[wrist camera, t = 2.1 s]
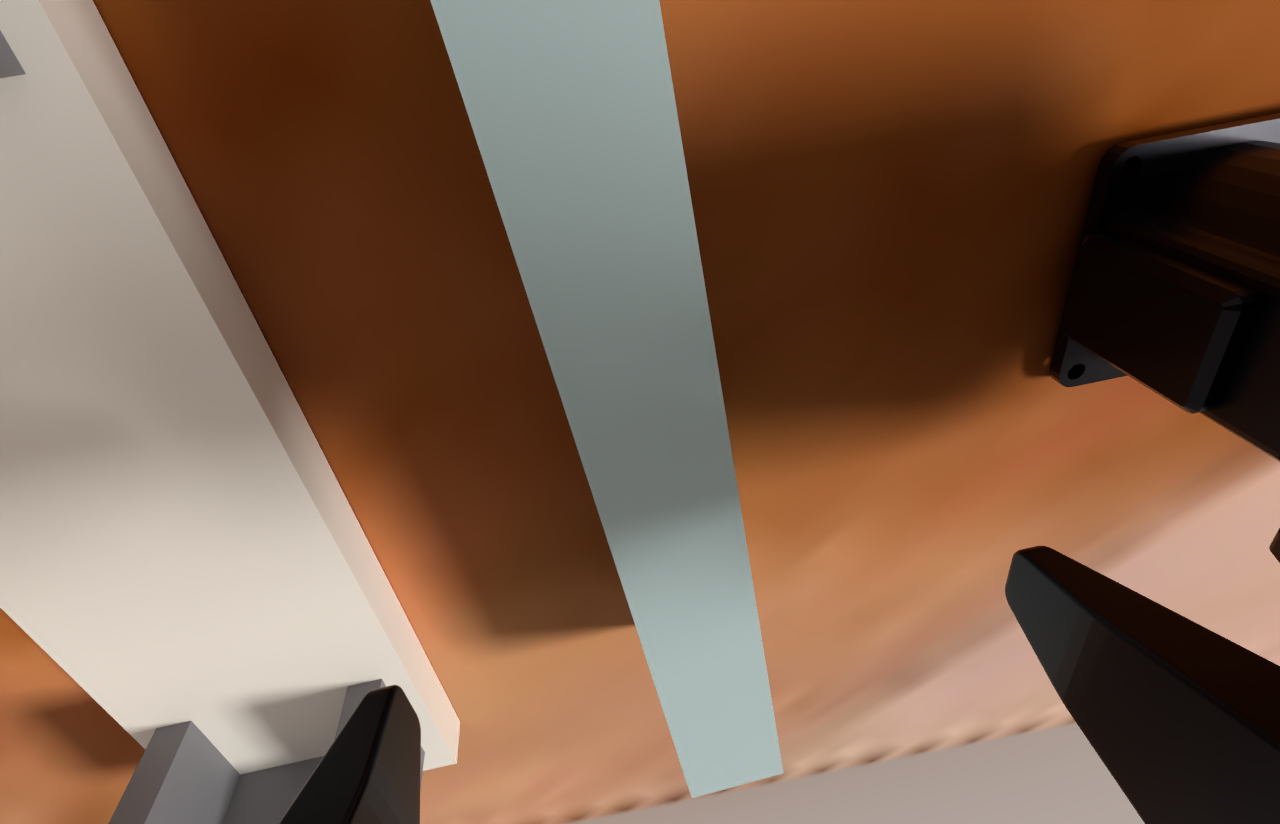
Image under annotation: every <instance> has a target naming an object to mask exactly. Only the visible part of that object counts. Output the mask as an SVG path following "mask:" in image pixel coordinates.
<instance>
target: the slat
mask: <svg viewBox="0 0 1280 824" xmlns="http://www.w3.org/2000/svg"><path fill="white" fill-rule="evenodd" d="M430 1H431V4H432V7H433V10H434V13H435V16H436V19H437V22H438V25H439V28H440V31H441V34H442V37H443V40H444V43H445V46H446V49H447V52H448V55H449V59H450V62H451V65H452V68H453V71H454V74H455V77H456V80H457V83H458V86H459V89H460V92H461V95H462V98H463V101H464V104H465V107H466V110H467V113H468V116H469V120H470V123H471V126H472V129H473V132H474V135H475V138H476V141H477V144H478V147H479V150H480V153H481V156H482V159H483V162H484V165H485V168H486V171H487V174H488V178H489V181H490V184H491V187H492V190H493V193H494V196H495V199H496V202H497V205H498V208H499V211H500V214H501V217H502V220H503V223H504V226H505V229H506V232H507V236H508V239H509V242H510V245H511V248H512V251H513V254H514V257H515V260H516V263H517V266H518V269H519V272H520V275H521V278H522V281H523V284H524V287H525V290H526V293H527V297H528V300H529V303H530V306H531V309H532V312H533V315H534V318H535V321H536V324H537V327H538V330H539V333H540V336H541V339H542V342H543V345H544V348H545V351H546V355H547V358H548V361H549V364H550V367H551V370H552V373H553V376H554V379H555V382H556V385H557V388H558V391H559V394H560V397H561V400H562V403H563V406H564V409H565V412H566V416H567V419H568V422H569V425H570V428H571V431H572V434H573V437H574V440H575V443H576V446H577V449H578V452H579V455H580V458H581V461H582V464H583V467H584V470H585V474H586V477H587V480H588V483H589V486H590V489H591V492H592V495H593V498H594V501H595V504H596V507H597V510H598V513H599V516H600V519H601V522H602V525H603V528H604V532H605V535H606V538H607V541H608V544H609V547H610V550H611V553H612V556H613V559H614V562H615V565H616V568H617V571H618V574H619V577H620V580H621V583H622V586H623V589H624V593H625V596H626V599H627V602H628V605H629V608H630V611H631V614H632V617H633V620H634V623H635V626H636V629H637V632H638V635H639V638H640V641H641V644H642V647H643V651H644V654H645V657H646V660H647V663H648V666H649V669H650V672H651V675H652V678H653V681H654V684H655V687H656V690H657V693H658V696H659V699H660V702H661V705H662V708H663V712H664V715H665V718H666V721H667V724H668V727H669V730H670V733H671V736H672V739H673V742H674V745H675V748H676V751H677V754H678V757H679V760H680V763H681V766H682V770H683V773H684V776H685V779H686V782H687V785H688V788H689V791H690V794H691V797H692V798H694V797H698V796H702V795H705V794H709V793H713V792H716V791H720V790H724V789H728V788H731V787H735V786H739V785H742V784H746V783H750V782H753V781H757V780H761V779H764V778H768V777H772V776H775V775H779V774H783V767H782V761H781V755H780V749H779V743H778V736H777V730H776V724H775V718H774V711H773V705H772V699H771V693H770V687H769V680H768V674H767V668H766V662H765V655H764V649H763V643H762V637H761V631H760V624H759V618H758V612H757V606H756V599H755V593H754V587H753V581H752V575H751V568H750V562H749V556H748V550H747V543H746V537H745V531H744V525H743V519H742V512H741V506H740V500H739V494H738V487H737V481H736V475H735V469H734V463H733V456H732V450H731V444H730V438H729V431H728V425H727V419H726V413H725V407H724V400H723V394H722V388H721V382H720V375H719V369H718V363H717V357H716V351H715V344H714V338H713V332H712V326H711V319H710V313H709V307H708V301H707V295H706V288H705V282H704V276H703V270H702V264H701V257H700V251H699V245H698V239H697V232H696V226H695V220H694V214H693V208H692V201H691V195H690V189H689V183H688V176H687V170H686V164H685V158H684V152H683V145H682V139H681V133H680V127H679V120H678V114H677V108H676V102H675V96H674V89H673V83H672V77H671V71H670V64H669V58H668V52H667V46H666V40H665V33H664V27H663V21H662V15H661V8H660V2H659V0H430Z"/></svg>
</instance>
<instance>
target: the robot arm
mask: <svg viewBox="0 0 1280 824" xmlns="http://www.w3.org/2000/svg"><path fill="white" fill-rule="evenodd" d="M1127 160H1128V164H1127V166H1126V168H1125V169H1124V170H1123V171H1122V172H1121V168H1122V166H1123V164H1124V163H1125V162H1126V161H1127ZM1072 367H1073V368H1072ZM1050 375H1051V377H1052V378H1053V379H1054V380H1056V381H1057V382H1058V383H1060V384H1061V385H1063V386H1065V387H1074V386H1078V385H1083V384H1088V383H1093V382H1098V381H1103V380H1107V379H1112V378H1117V377H1122V376H1127V375H1128V376H1130V377H1131V378H1133V379H1135V380H1136V381H1138V382H1139V383H1141V384H1143V385H1144V386H1146V387H1147V388H1149V389H1151V390H1152V391H1154V392H1155V393H1157V394H1159V395H1160V396H1162V397H1163V398H1165V399H1167V400H1168V401H1170V402H1171V403H1173V404H1175V405H1176V406H1178V407H1179V408H1181V409H1183V410H1184V411H1186V412H1189V413H1192V414H1193V413H1198V412H1199V413H1201V414H1203V415H1204V416H1206V417H1207V418H1209V419H1211V420H1212V421H1214V422H1216V423H1217V424H1219V425H1220V426H1222V427H1224V428H1225V429H1227V430H1229V431H1230V432H1232V433H1234V434H1235V435H1237V436H1238V437H1240V438H1242V439H1243V440H1245V441H1247V442H1248V443H1250V444H1252V445H1253V446H1255V447H1256V448H1258V449H1260V450H1261V451H1263V452H1265V453H1266V454H1268V455H1269V456H1271V457H1273V458H1274V459H1276V460H1278V461H1279V462H1280V113H1276V114H1270V115H1265V116H1259V117H1254V118H1249V119H1243V120H1238V121H1233V122H1227V123H1222V124H1217V125H1211V126H1206V127H1201V128H1195V129H1190V130H1184V131H1179V132H1174V133H1168V134H1163V135H1158V136H1152V137H1147V138H1142V139H1136V140H1131V141H1125V142H1122V143H1119V144H1117V145H1115V146H1114V147H1112V148H1111V149H1110V150H1109V151H1108V152H1107V153H1106V154H1105V155H1104V157H1103V158H1102V160H1101V162H1100V165H1099V167H1098V171H1097V175H1096V179H1095V183H1094V187H1093V191H1092V195H1091V199H1090V204H1089V208H1088V212H1087V216H1086V220H1085V224H1084V228H1083V233H1082V237H1081V241H1080V245H1079V249H1078V253H1077V257H1076V262H1075V266H1074V270H1073V274H1072V278H1071V282H1070V286H1069V291H1068V295H1067V299H1066V303H1065V307H1064V311H1063V315H1062V320H1061V324H1060V328H1059V332H1058V336H1057V340H1056V344H1055V349H1054V353H1053V357H1052V361H1051V365H1050ZM1269 548H1270V551H1271V552H1272V554H1273V555H1274V556H1275V557H1276V559H1277V560H1278V561H1279V562H1280V528H1279V530H1278V532H1277V534H1276V536H1275V537H1274V539H1273V541H1272V543H1271V545H1270V547H1269ZM1005 594H1006V598H1007V601H1008V604H1009V606H1010V608H1011V609H1012V611H1013V613H1014V615H1015V617H1016V619H1017V620H1018V622H1019V624H1020V626H1021V628H1022V630H1023V631H1024V633H1025V635H1026V637H1027V639H1028V641H1029V642H1030V644H1031V646H1032V648H1033V650H1034V652H1035V653H1036V655H1037V657H1038V659H1039V661H1040V663H1041V664H1042V666H1043V668H1044V670H1045V672H1046V674H1047V675H1048V677H1049V679H1050V681H1051V683H1052V685H1053V686H1054V688H1055V690H1056V691H1057V693H1058V695H1059V697H1060V698H1061V700H1062V702H1063V703H1064V705H1065V706H1066V708H1067V709H1068V711H1069V712H1070V714H1071V716H1072V717H1073V719H1074V720H1075V721H1076V723H1077V724H1078V726H1079V727H1080V729H1081V730H1082V732H1083V733H1084V735H1085V736H1086V738H1087V739H1088V740H1089V742H1090V744H1091V745H1092V746H1093V748H1094V749H1095V751H1096V752H1097V754H1098V755H1099V757H1100V758H1101V760H1102V761H1103V762H1104V764H1105V766H1106V767H1107V768H1108V770H1109V771H1110V773H1111V774H1112V776H1113V777H1114V779H1115V780H1116V782H1117V783H1118V785H1119V786H1120V788H1121V789H1122V790H1123V792H1124V793H1125V795H1126V796H1127V798H1128V799H1129V801H1130V802H1131V804H1132V805H1133V807H1134V808H1135V809H1136V811H1137V813H1138V814H1139V816H1140V817H1141V818H1142V820H1143V821H1144V823H1145V824H1280V666H1278V665H1276V664H1274V663H1272V662H1270V661H1268V660H1267V659H1265V658H1263V657H1261V656H1259V655H1257V654H1255V653H1253V652H1251V651H1249V650H1247V649H1245V648H1243V647H1241V646H1239V645H1237V644H1236V643H1234V642H1232V641H1230V640H1228V639H1226V638H1224V637H1222V636H1220V635H1218V634H1216V633H1214V632H1212V631H1210V630H1208V629H1207V628H1205V627H1203V626H1201V625H1199V624H1197V623H1195V622H1193V621H1191V620H1189V619H1187V618H1185V617H1183V616H1181V615H1179V614H1178V613H1176V612H1174V611H1172V610H1170V609H1168V608H1166V607H1164V606H1162V605H1160V604H1158V603H1156V602H1154V601H1152V600H1150V599H1148V598H1147V597H1145V596H1143V595H1141V594H1139V593H1137V592H1135V591H1133V590H1131V589H1129V588H1127V587H1125V586H1123V585H1121V584H1119V583H1118V582H1116V581H1114V580H1112V579H1110V578H1108V577H1106V576H1104V575H1102V574H1100V573H1098V572H1096V571H1094V570H1092V569H1090V568H1089V567H1087V566H1085V565H1083V564H1081V563H1079V562H1077V561H1075V560H1073V559H1071V558H1069V557H1067V556H1065V555H1063V554H1061V553H1060V552H1058V551H1056V550H1054V549H1052V548H1049V547H1046V546H1036V547H1031V548H1027V549H1022V550H1018V551H1017V552H1016V553H1015V554H1014V555H1013V558H1012V562H1011V566H1010V570H1009V574H1008V578H1007V582H1006V586H1005ZM420 765H421V727H420V722H419V718H418V716H417V714H416V712H415V710H414V709H413V707H412V705H411V703H410V702H409V700H408V698H407V696H406V695H405V693H404V691H403V690H402V688H401V687H399V686H398V685H391V686H386V687H382V688H377V689H373V690H371V691H369V692H368V693H367V694H366V695H365V696H364V697H363V699H362V700H361V702H360V703H359V704H358V706H357V707H356V709H355V710H354V712H353V713H352V715H351V716H350V718H349V719H348V721H347V722H346V724H345V725H344V727H343V728H342V730H341V731H340V733H339V734H338V736H337V737H336V739H335V740H334V742H333V743H332V745H331V746H330V748H329V749H328V751H327V752H326V754H325V755H324V757H323V758H322V760H321V761H320V763H319V764H318V766H317V767H316V769H315V770H314V772H313V773H312V775H311V776H310V778H309V779H308V780H307V782H306V783H305V785H304V786H303V788H302V789H301V791H300V792H299V794H298V795H297V797H296V798H295V800H294V801H293V803H292V804H291V806H290V807H289V809H288V810H287V812H286V813H285V815H284V816H283V818H282V819H281V821H280V822H279V824H420Z"/></svg>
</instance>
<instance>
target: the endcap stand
mask: <svg viewBox="0 0 1280 824" xmlns="http://www.w3.org/2000/svg"><path fill="white" fill-rule="evenodd" d="M0 608H1V609H2V610H3V611H4V612H5V613H6V614H7V615H8V616H9V617H10V618H12V619H13V620H14V621H15V622H16V623H17V624H18V625H19V626H20V627H21V628H22V629H23V630H24V631H25V632H26V633H27V634H28V635H29V636H30V637H31V638H32V639H33V640H34V641H35V642H36V643H37V644H38V645H39V646H40V647H41V648H42V649H43V650H44V651H45V652H46V653H47V654H48V655H49V656H50V657H51V658H52V659H53V660H54V661H55V662H56V663H57V664H58V665H59V666H60V667H62V668H63V669H64V670H65V671H66V672H67V673H68V674H69V675H70V676H71V677H72V678H73V679H74V680H75V681H76V682H77V683H78V684H79V685H80V686H81V687H82V688H83V689H84V690H85V691H86V692H87V693H88V694H89V695H90V696H91V697H92V698H93V699H94V700H95V701H96V702H97V703H98V704H99V705H100V706H101V707H102V708H103V709H104V710H105V711H106V712H107V713H108V714H109V715H110V716H111V717H113V718H114V719H115V720H116V721H117V722H118V723H119V724H120V725H121V726H122V727H123V728H124V729H125V730H126V731H127V732H128V733H129V734H130V735H131V736H132V737H133V738H134V739H135V740H136V741H137V742H138V743H139V744H140V745H141V746H142V747H143V748H144V749H145V752H144V754H143V756H142V758H141V760H140V762H139V764H138V766H137V768H136V770H135V772H134V774H133V776H132V778H131V780H130V782H129V784H128V786H127V788H126V790H125V792H124V794H123V796H122V798H121V800H120V802H119V804H118V806H117V808H116V810H115V812H114V814H113V816H112V818H111V820H110V822H109V824H279V822H280V821H281V819H282V818H283V816H284V815H285V813H286V812H287V810H288V809H289V807H290V806H291V804H292V803H293V801H294V800H295V798H296V797H297V795H298V794H299V792H300V791H301V789H302V788H303V786H304V785H305V783H306V782H307V780H308V779H309V778H310V776H311V775H312V773H313V772H314V770H315V769H316V767H317V766H318V764H319V763H320V761H321V760H322V758H323V757H324V755H325V754H326V752H327V751H328V749H329V748H330V746H331V745H332V743H333V742H334V740H335V739H336V737H337V736H338V734H339V733H340V731H341V730H342V728H343V727H344V725H345V724H346V722H347V721H348V719H349V718H350V716H351V715H352V713H353V712H354V710H355V709H356V707H357V706H358V704H359V703H360V702H361V700H362V699H363V697H364V696H365V695H366V694H367V693H368V692H369V691H371V690H373V689H377V688H382V687H386V686H391V685H398V686H399V687H401V688H402V690H403V691H404V693H405V695H406V696H407V698H408V700H409V702H410V703H411V705H412V707H413V709H414V710H415V712H416V714H417V716H418V718H419V722H420V727H421V765H420V788H421V780H422V772H423V771H425V770H430V769H434V768H438V767H443V766H447V765H452V764H456V763H457V754H458V742H459V730H460V721H459V719H458V717H457V715H456V713H455V711H454V709H453V707H452V705H451V703H450V701H449V699H448V697H447V695H446V693H445V691H444V689H443V687H442V685H441V683H440V681H439V679H438V678H437V676H436V674H435V672H434V670H433V668H432V666H431V664H430V662H429V660H428V658H427V656H426V654H425V652H424V650H423V648H422V646H421V644H420V642H419V640H418V638H417V636H416V634H415V632H414V630H413V628H412V626H411V624H410V623H409V621H408V619H407V617H406V615H405V613H404V611H403V609H402V607H401V605H400V603H399V601H398V599H397V597H396V595H395V593H394V591H393V589H392V587H391V585H390V583H389V581H388V579H387V577H386V575H385V573H384V571H383V570H382V568H381V566H380V564H379V562H378V560H377V558H376V556H375V554H374V552H373V550H372V548H371V546H370V544H369V542H368V540H367V538H366V536H365V534H364V532H363V530H362V528H361V526H360V524H359V522H358V520H357V518H356V516H355V515H354V513H353V511H352V509H351V507H350V505H349V503H348V501H347V499H346V497H345V495H344V493H343V491H342V489H341V487H340V485H339V483H338V481H337V479H336V477H335V475H334V473H333V471H332V469H331V467H330V465H329V463H328V462H327V460H326V458H325V456H324V454H323V452H322V450H321V448H320V446H319V444H318V442H317V440H316V438H315V436H314V434H313V432H312V430H311V428H310V426H309V424H308V422H307V420H306V418H305V416H304V414H303V412H302V410H301V408H300V407H299V405H298V403H297V401H296V399H295V397H294V395H293V393H292V391H291V389H290V387H289V385H288V383H287V381H286V379H285V377H284V375H283V373H282V371H281V369H280V367H279V365H278V363H277V361H276V359H275V357H274V355H273V354H272V352H271V350H270V348H269V346H268V344H267V342H266V340H265V338H264V336H263V334H262V332H261V330H260V328H259V326H258V324H257V322H256V320H255V318H254V316H253V314H252V312H251V310H250V308H249V306H248V304H247V302H246V300H245V299H244V297H243V295H242V293H241V291H240V289H239V287H238V285H237V283H236V281H235V279H234V277H233V275H232V273H231V271H230V269H229V267H228V265H227V263H226V261H225V259H224V257H223V255H222V253H221V251H220V249H219V247H218V246H217V244H216V242H215V240H214V238H213V236H212V234H211V232H210V230H209V228H208V226H207V224H206V222H205V220H204V218H203V216H202V214H201V212H200V210H199V208H198V206H197V204H196V202H195V200H194V198H193V196H192V194H191V192H190V191H189V189H188V187H187V185H186V183H185V181H184V179H183V177H182V175H181V173H180V171H179V169H178V167H177V165H176V163H175V161H174V159H173V157H172V155H171V153H170V151H169V149H168V147H167V145H166V143H165V141H164V139H163V138H162V136H161V134H160V132H159V130H158V128H157V126H156V124H155V122H154V120H153V118H152V116H151V114H150V112H149V110H148V108H147V106H146V104H145V102H144V100H143V98H142V96H141V94H140V92H139V90H138V88H137V86H136V84H135V83H134V81H133V79H132V77H131V75H130V73H129V71H128V69H127V67H126V65H125V63H124V61H123V59H122V57H121V55H120V53H119V51H118V49H117V47H116V45H115V43H114V41H113V39H112V37H111V35H110V33H109V31H108V30H107V28H106V26H105V24H104V22H103V20H102V18H101V16H100V14H99V12H98V10H97V8H96V6H95V4H94V2H93V0H0Z"/></svg>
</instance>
